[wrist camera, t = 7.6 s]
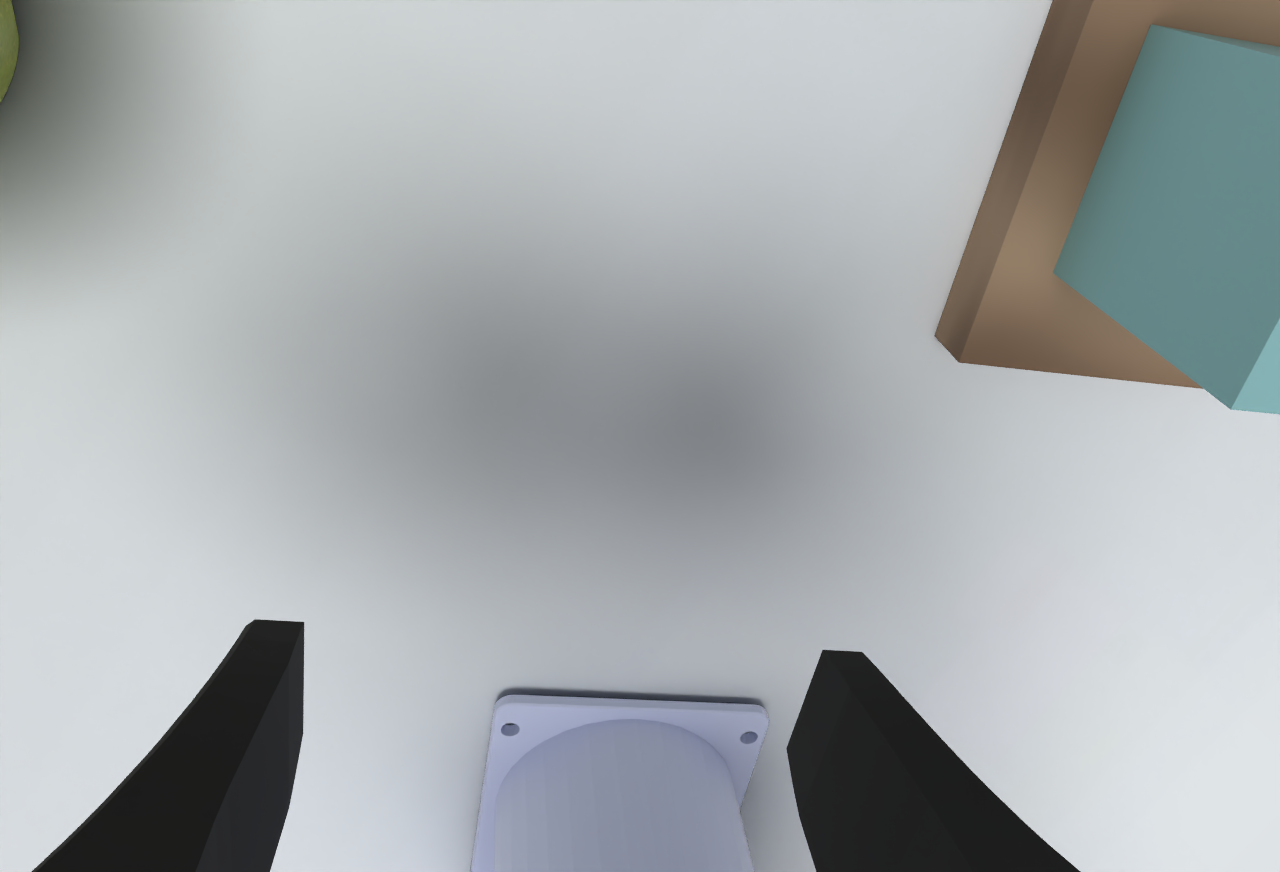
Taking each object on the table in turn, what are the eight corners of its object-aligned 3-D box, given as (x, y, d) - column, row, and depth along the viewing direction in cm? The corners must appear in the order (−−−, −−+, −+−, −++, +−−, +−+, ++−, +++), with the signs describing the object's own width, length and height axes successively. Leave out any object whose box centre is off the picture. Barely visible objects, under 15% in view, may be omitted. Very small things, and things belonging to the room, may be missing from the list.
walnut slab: (1210, 358, 25) (1263, 395, 23) (924, 325, 23) (958, 362, 21) (1434, -76, 20) (1522, -70, 18) (1090, -154, 18) (1151, -156, 16)
